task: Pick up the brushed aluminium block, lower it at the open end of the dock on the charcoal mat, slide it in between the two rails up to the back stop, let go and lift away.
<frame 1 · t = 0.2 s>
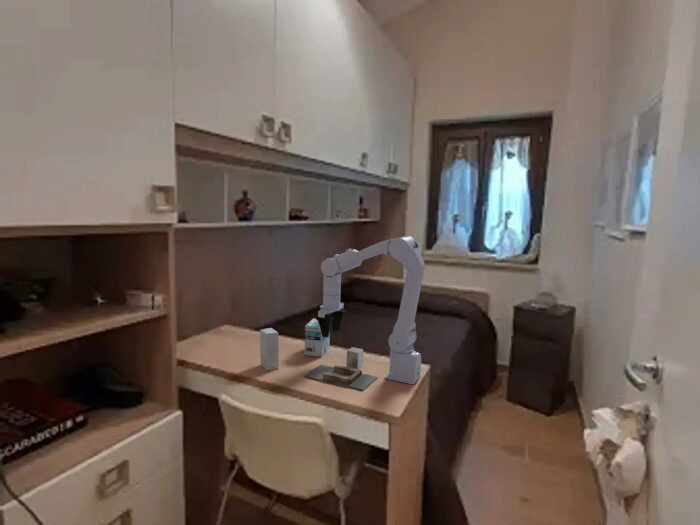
hand: (330, 333, 152), 10 cm above the table, tool pointing down, fingers open, 7 cm apart
dock: (340, 377, 140), on the table
skincare box: (269, 367, 147), on the table
light bulb box: (317, 352, 163), on the table
aluminium block: (354, 367, 149), on the table
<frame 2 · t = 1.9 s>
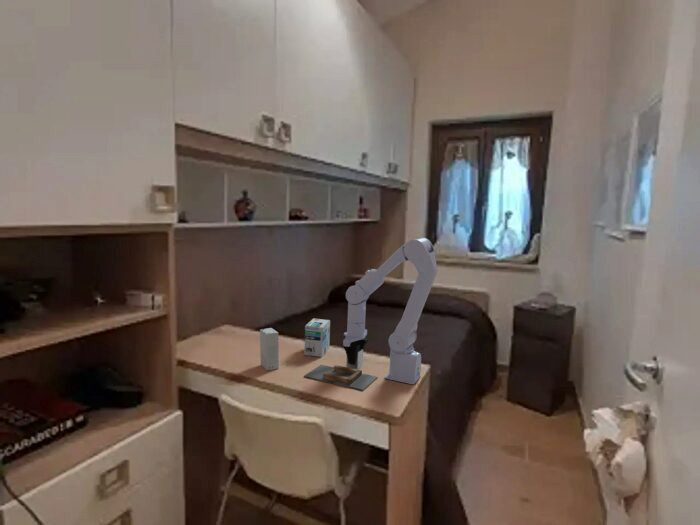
hand: (354, 361, 149), 2 cm above the table, tool pointing down, fingers closed on aluminium block, 4 cm apart
aluminium block: (354, 367, 149), on the table, touching gripper
everything else where it was.
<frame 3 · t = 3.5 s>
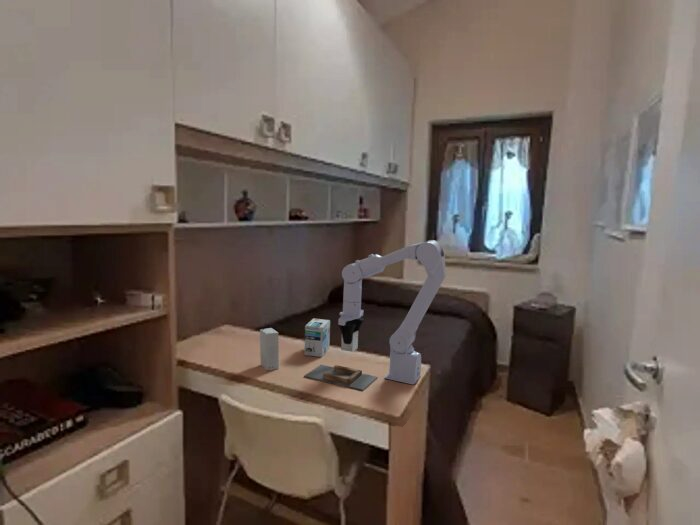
hand: (350, 341, 147), 9 cm above the table, tool pointing down, fingers closed on aluminium block, 4 cm apart
aluminium block: (349, 348, 147), point 7 cm above the table, touching gripper
everything else where it was.
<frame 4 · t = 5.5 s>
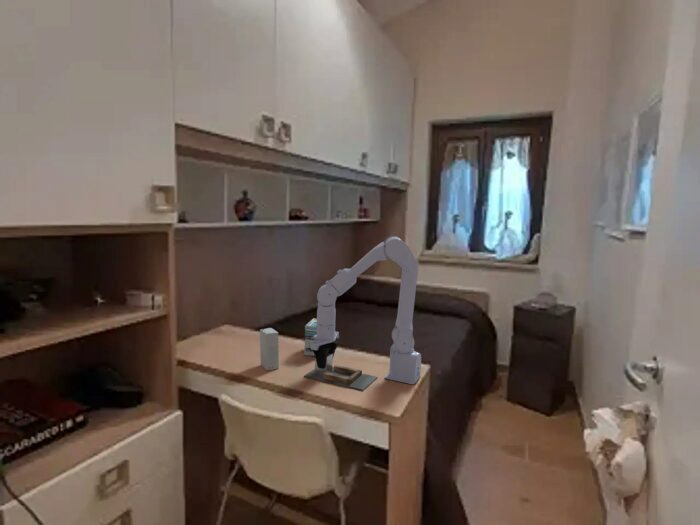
hand: (324, 365, 142), 3 cm above the table, tool pointing down, fingers closed on aluminium block, 4 cm apart
aluminium block: (323, 372, 143), resting on dock, touching gripper
everything else where it was.
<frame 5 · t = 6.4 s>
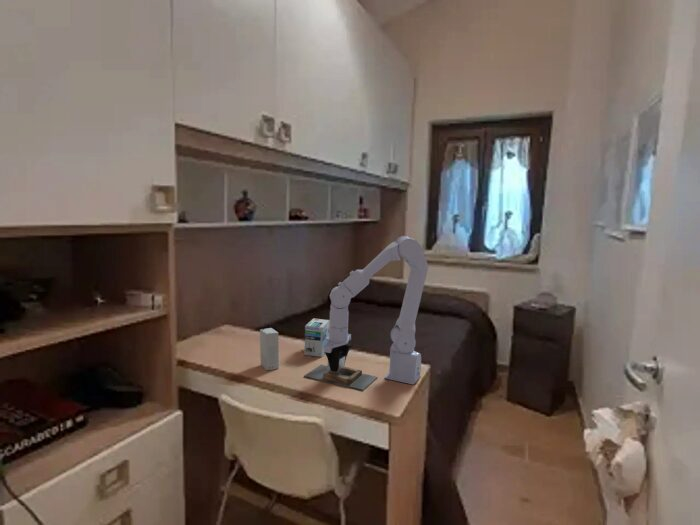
hand: (337, 368, 140), 3 cm above the table, tool pointing down, fingers closed on aluminium block, 4 cm apart
aluminium block: (335, 375, 141), resting on dock, touching gripper
everything else where it was.
when the fingers open (3 cm above the table, at t = 7.5 s): aluminium block stays where it is, resting on dock.
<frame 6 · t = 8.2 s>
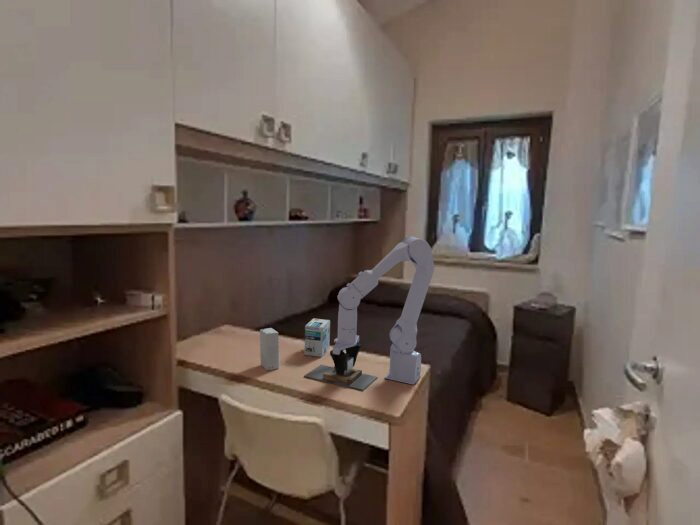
hand: (345, 370, 139), 3 cm above the table, tool pointing down, fingers open, 7 cm apart
aluminium block: (343, 377, 140), resting on dock
everything else where it was.
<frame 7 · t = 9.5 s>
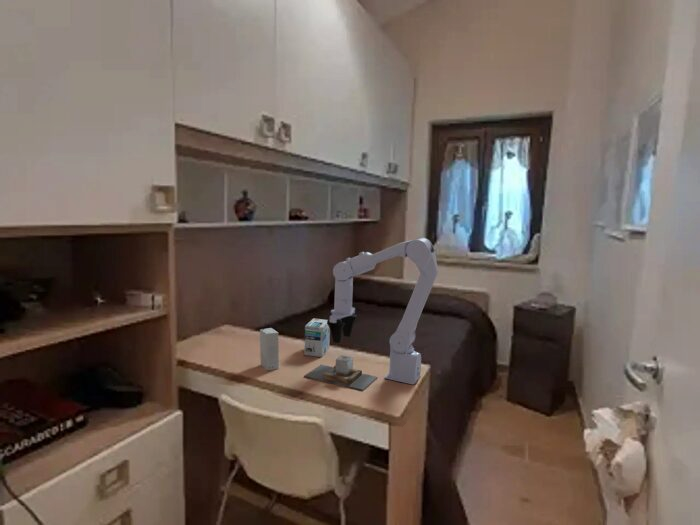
hand: (341, 339, 148), 9 cm above the table, tool pointing down, fingers open, 7 cm apart
nothing on the table moved.
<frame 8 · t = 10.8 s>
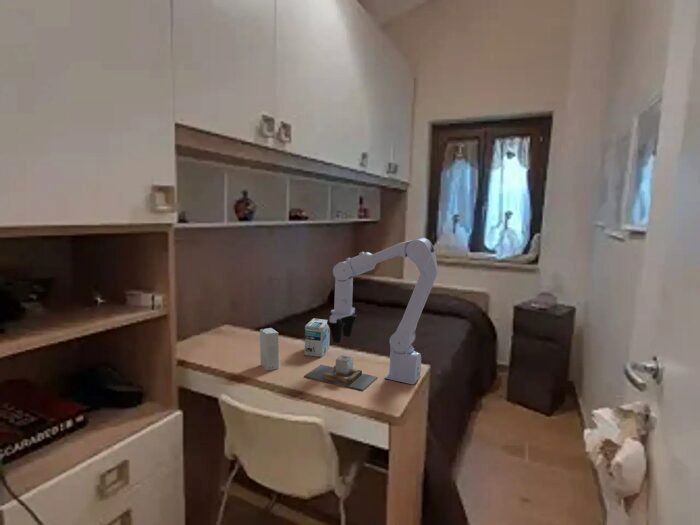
hand: (341, 339, 148), 9 cm above the table, tool pointing down, fingers open, 7 cm apart
nothing on the table moved.
at the end: aluminium block 0.5 cm from the target spot on the dock, point 0.4 cm above the dock's base; aluminium block tilted 0°; the gripper is holding nothing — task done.
